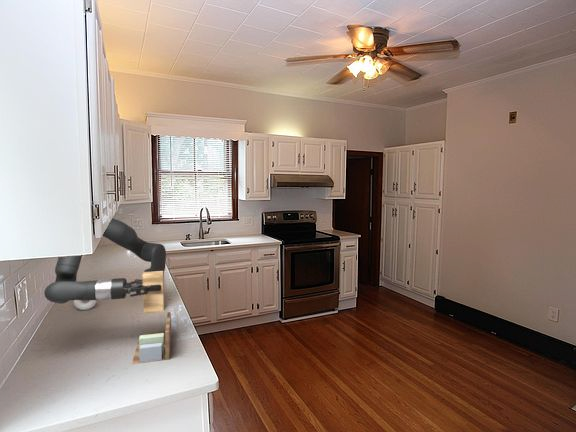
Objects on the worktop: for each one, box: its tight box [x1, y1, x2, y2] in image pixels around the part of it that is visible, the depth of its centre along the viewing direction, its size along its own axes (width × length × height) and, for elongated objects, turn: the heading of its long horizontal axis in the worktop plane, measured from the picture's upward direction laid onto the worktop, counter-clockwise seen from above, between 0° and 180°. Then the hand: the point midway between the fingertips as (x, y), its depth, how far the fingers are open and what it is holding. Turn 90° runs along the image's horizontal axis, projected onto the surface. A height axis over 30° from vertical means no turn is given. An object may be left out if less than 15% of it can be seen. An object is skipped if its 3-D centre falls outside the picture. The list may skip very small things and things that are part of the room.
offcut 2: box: [140, 343, 163, 363], centre depth 117 cm, size 2×7×5 cm, turn 107°
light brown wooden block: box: [142, 271, 165, 315], centre depth 127 cm, size 4×7×15 cm, turn 107°
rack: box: [131, 311, 172, 365], centre depth 124 cm, size 19×12×11 cm, turn 17°
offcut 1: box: [138, 333, 164, 358], centre depth 120 cm, size 3×8×7 cm, turn 107°
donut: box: [73, 300, 98, 311], centre depth 164 cm, size 10×4×10 cm, turn 114°
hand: (161, 285), depth 128 cm, fingers closed on light brown wooden block, 4 cm apart
